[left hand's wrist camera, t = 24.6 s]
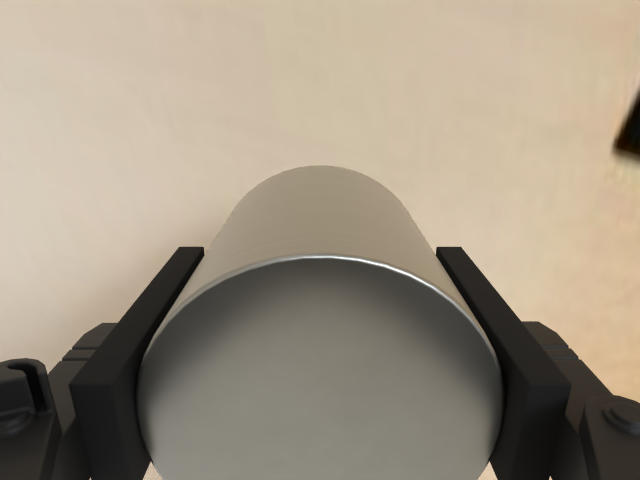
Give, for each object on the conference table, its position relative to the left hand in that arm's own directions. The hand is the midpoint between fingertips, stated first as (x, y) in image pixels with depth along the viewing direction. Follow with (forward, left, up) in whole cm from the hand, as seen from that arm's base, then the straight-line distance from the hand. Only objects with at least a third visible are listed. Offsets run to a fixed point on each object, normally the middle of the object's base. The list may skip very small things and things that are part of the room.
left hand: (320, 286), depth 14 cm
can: (0, 0, -2) cm, 2 cm away
